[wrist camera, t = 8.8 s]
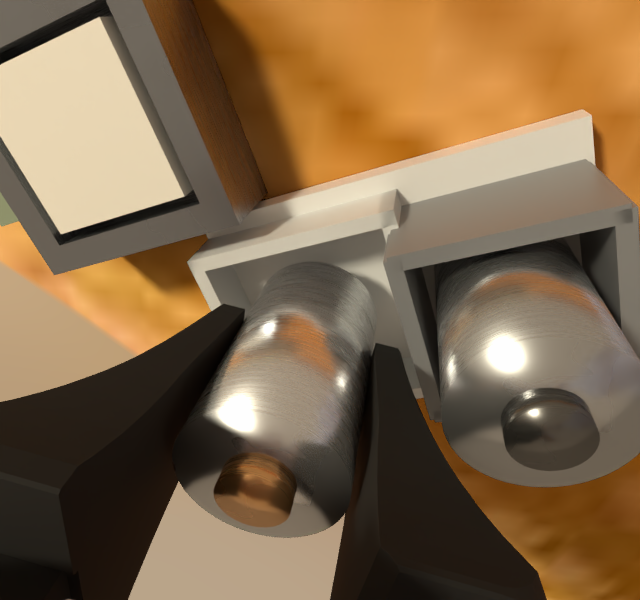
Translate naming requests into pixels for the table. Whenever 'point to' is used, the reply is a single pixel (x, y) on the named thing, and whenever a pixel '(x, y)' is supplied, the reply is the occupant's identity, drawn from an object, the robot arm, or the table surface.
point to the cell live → (284, 407)
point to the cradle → (176, 115)
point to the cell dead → (534, 368)
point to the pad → (87, 128)
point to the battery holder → (440, 232)
